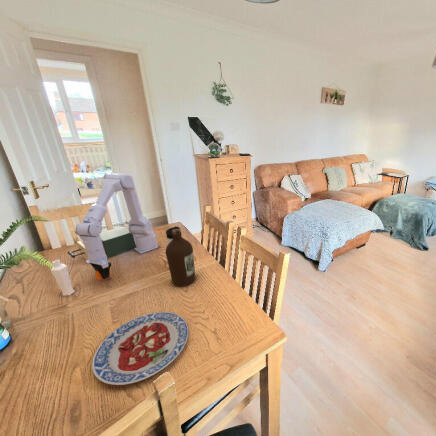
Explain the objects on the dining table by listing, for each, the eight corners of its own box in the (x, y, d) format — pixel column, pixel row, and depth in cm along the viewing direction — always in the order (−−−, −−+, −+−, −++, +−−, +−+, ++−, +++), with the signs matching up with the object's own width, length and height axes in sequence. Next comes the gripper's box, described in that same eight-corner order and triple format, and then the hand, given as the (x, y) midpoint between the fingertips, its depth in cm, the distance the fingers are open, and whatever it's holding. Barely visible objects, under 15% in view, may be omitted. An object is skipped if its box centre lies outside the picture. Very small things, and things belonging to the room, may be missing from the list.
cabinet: (107, 257, 121) (103, 241, 117) (98, 250, 127) (93, 234, 123) (136, 247, 131) (132, 231, 128) (126, 241, 137) (122, 226, 134)
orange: (108, 273, 108) (105, 263, 106) (113, 277, 105) (110, 267, 103) (94, 279, 104) (91, 269, 102) (99, 283, 101) (96, 273, 99)
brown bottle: (166, 286, 103) (155, 234, 93) (179, 272, 112) (171, 224, 103) (189, 288, 102) (181, 236, 92) (200, 274, 112) (194, 225, 102)
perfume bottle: (58, 294, 96) (45, 262, 90) (72, 287, 99) (60, 257, 94) (64, 298, 94) (50, 266, 88) (77, 291, 98) (65, 260, 92)
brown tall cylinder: (188, 262, 120) (183, 226, 112) (181, 270, 114) (175, 232, 106) (176, 261, 120) (170, 225, 113) (169, 269, 114) (162, 231, 107)
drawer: (76, 266, 111) (71, 252, 108) (68, 259, 117) (63, 245, 114) (118, 251, 125) (114, 238, 122) (109, 245, 130) (106, 233, 127)
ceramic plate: (88, 345, 76) (85, 338, 74) (172, 305, 92) (171, 299, 91) (103, 412, 59) (99, 404, 58) (202, 349, 76) (201, 342, 75)
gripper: (76, 246, 99) (85, 273, 105) (89, 258, 92) (99, 286, 97) (96, 240, 105) (104, 266, 110) (110, 251, 97) (118, 278, 103)
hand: (103, 275), depth 104 cm, fingers closed on orange, 5 cm apart
